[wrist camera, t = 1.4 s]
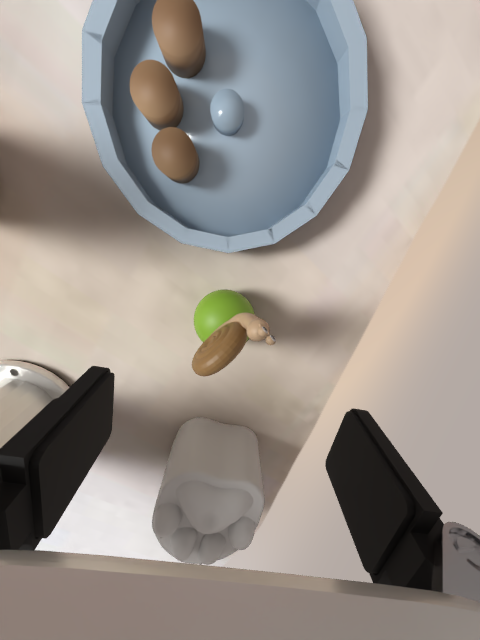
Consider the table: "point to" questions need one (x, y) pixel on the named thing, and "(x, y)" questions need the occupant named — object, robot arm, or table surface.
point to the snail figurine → (225, 330)
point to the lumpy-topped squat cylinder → (209, 492)
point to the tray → (233, 115)
